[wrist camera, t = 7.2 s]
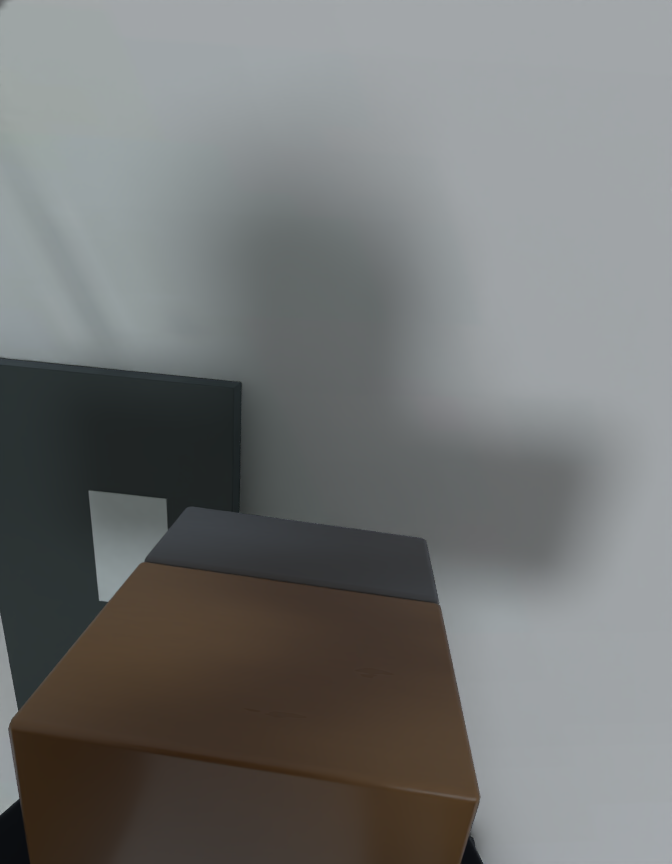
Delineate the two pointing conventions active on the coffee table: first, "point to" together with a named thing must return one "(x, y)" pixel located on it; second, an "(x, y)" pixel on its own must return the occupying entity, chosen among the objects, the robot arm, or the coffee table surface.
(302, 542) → the eraser
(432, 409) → the coffee table surface
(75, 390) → the slate board
